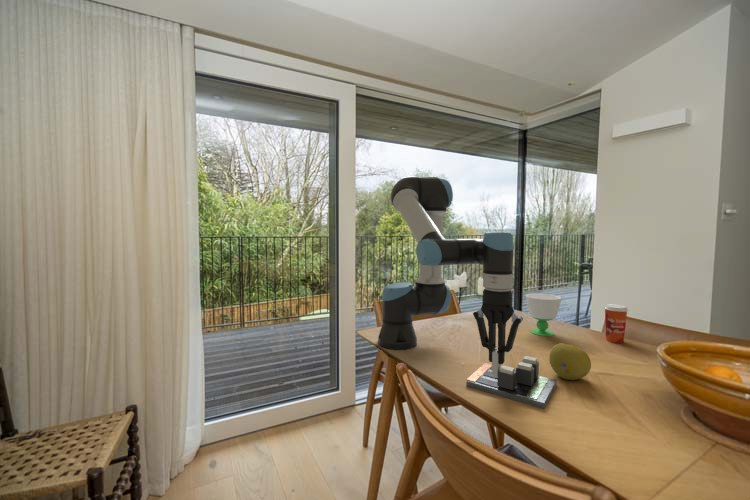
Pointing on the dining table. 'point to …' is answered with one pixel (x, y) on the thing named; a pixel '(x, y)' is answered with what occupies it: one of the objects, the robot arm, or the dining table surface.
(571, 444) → the dining table surface
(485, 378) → the panel
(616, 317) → the paper cup
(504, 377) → the block
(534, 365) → the breaker far row
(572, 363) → the fruit
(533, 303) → the cup
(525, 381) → the breaker mid row
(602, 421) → the dining table surface
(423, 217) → the robot arm
